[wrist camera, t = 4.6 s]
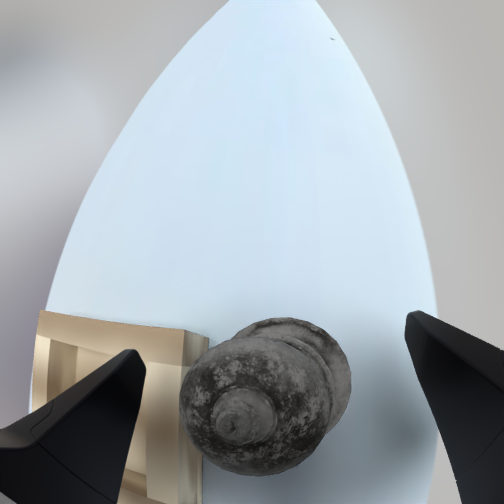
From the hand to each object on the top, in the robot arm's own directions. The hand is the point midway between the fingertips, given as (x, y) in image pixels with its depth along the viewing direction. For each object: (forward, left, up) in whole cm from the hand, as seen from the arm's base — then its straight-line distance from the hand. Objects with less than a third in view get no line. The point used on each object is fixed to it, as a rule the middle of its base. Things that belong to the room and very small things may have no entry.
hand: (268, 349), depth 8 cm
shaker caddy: (-10, +5, -7) cm, 13 cm away
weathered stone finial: (-1, -1, -7) cm, 7 cm away
